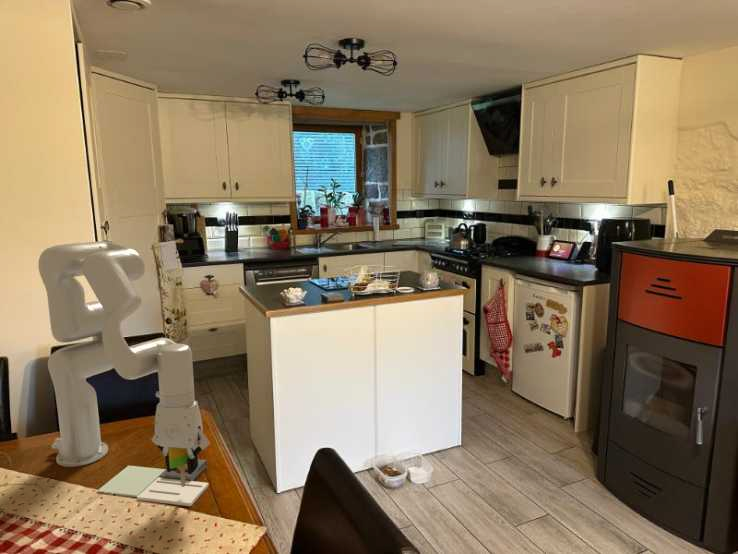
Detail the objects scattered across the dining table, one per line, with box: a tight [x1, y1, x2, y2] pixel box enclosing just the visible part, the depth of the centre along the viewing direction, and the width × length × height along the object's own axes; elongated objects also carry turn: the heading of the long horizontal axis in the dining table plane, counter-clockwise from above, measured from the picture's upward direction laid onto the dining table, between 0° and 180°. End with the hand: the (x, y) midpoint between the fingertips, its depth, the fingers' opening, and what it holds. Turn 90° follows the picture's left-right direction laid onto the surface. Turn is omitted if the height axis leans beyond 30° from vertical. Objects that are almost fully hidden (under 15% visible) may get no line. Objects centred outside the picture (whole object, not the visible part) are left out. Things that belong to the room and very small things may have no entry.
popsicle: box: [168, 447, 189, 487], centre depth 121 cm, size 6×2×15 cm, turn 127°
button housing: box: [161, 458, 208, 481], centre depth 133 cm, size 8×8×2 cm
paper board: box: [136, 477, 210, 507], centre depth 125 cm, size 14×9×1 cm, turn 79°
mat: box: [96, 465, 167, 498], centre depth 130 cm, size 11×12×1 cm
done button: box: [176, 464, 188, 472], centre depth 133 cm, size 4×4×2 cm
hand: (182, 469), depth 122 cm, fingers closed on popsicle, 4 cm apart
